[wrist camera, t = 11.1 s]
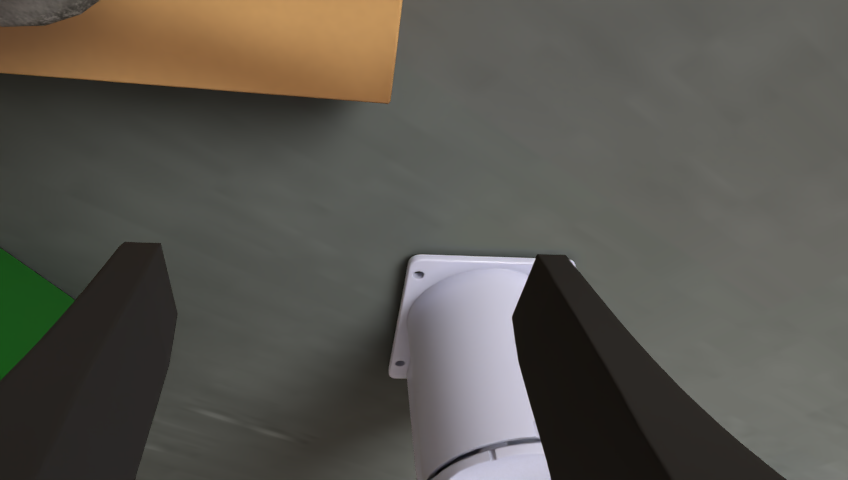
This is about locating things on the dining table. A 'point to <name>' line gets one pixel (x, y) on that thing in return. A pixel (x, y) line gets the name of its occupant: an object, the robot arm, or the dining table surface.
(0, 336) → the milk carton
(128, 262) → the robot arm
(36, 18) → the grey stone finial
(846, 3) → the dining table surface
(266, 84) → the shelf stand
